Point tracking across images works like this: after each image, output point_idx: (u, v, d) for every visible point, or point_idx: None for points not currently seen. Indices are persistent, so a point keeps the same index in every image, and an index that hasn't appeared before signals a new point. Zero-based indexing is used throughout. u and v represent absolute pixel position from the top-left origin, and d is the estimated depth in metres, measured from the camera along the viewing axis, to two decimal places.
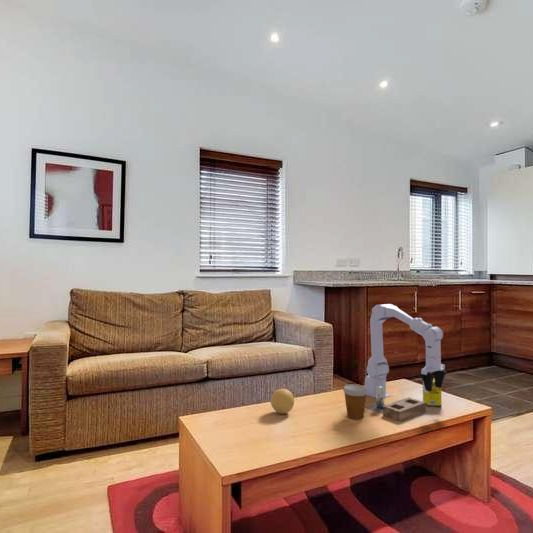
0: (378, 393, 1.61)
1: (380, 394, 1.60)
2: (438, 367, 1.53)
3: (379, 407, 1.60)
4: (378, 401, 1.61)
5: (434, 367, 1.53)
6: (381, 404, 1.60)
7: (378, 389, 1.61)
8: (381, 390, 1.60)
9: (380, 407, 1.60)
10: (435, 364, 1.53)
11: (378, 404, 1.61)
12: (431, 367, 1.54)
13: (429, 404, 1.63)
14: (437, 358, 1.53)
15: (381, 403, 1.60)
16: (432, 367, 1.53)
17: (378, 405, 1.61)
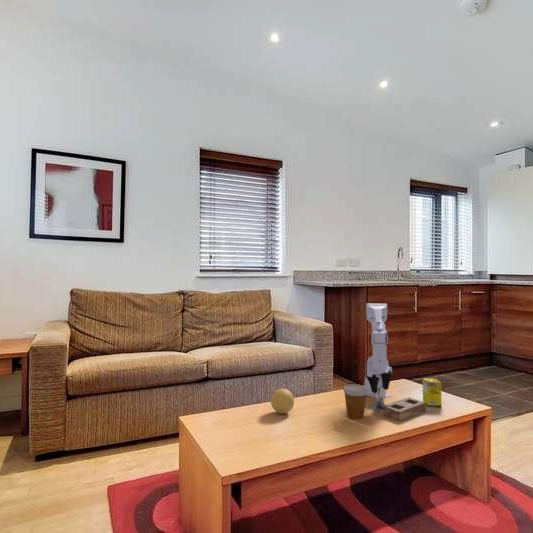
0: (378, 393, 1.61)
1: (380, 394, 1.60)
2: (383, 369, 1.59)
3: (379, 407, 1.60)
4: (378, 401, 1.61)
5: (379, 369, 1.59)
6: (381, 404, 1.60)
7: (378, 389, 1.61)
8: (381, 390, 1.60)
9: (380, 407, 1.60)
10: (380, 366, 1.59)
11: (378, 404, 1.61)
12: (377, 369, 1.60)
13: (429, 404, 1.63)
14: (382, 361, 1.59)
15: (381, 403, 1.60)
16: (378, 369, 1.59)
17: (378, 405, 1.61)
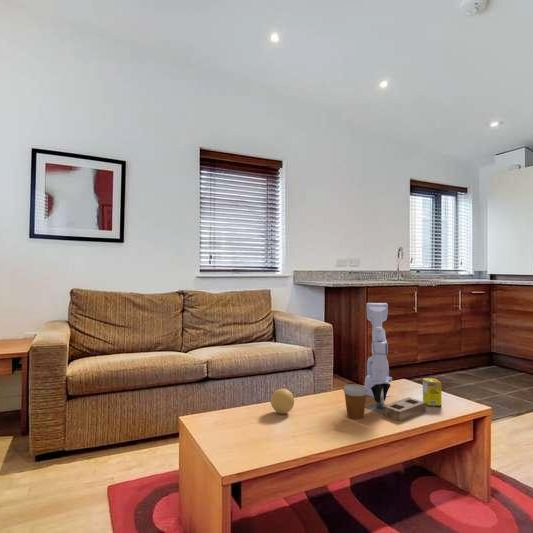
0: None
1: None
2: (383, 380, 1.59)
3: (379, 407, 1.60)
4: None
5: (380, 380, 1.59)
6: (381, 404, 1.60)
7: None
8: None
9: (380, 407, 1.60)
10: (380, 377, 1.59)
11: (378, 404, 1.61)
12: (377, 380, 1.60)
13: (429, 404, 1.63)
14: (382, 371, 1.59)
15: (381, 403, 1.60)
16: (378, 380, 1.59)
17: (378, 405, 1.61)
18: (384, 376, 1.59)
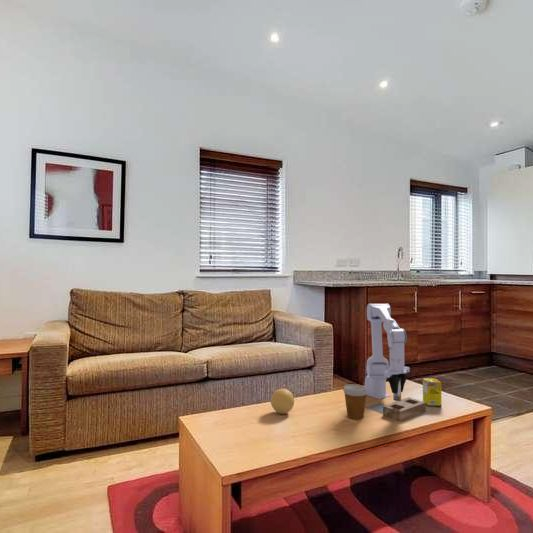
0: None
1: None
2: (401, 370, 1.50)
3: (396, 399, 1.51)
4: None
5: (397, 370, 1.50)
6: (398, 396, 1.51)
7: None
8: None
9: (397, 399, 1.51)
10: (398, 367, 1.50)
11: (395, 396, 1.52)
12: (394, 370, 1.50)
13: (429, 404, 1.63)
14: (400, 361, 1.50)
15: (398, 395, 1.51)
16: (395, 370, 1.50)
17: (395, 397, 1.52)
18: (402, 366, 1.50)
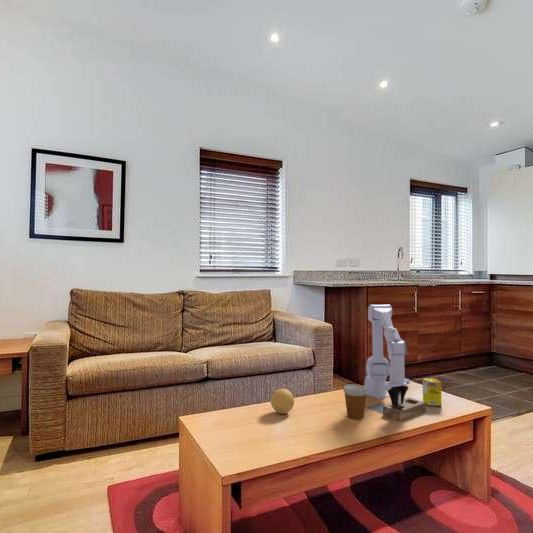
0: None
1: None
2: (401, 382, 1.50)
3: None
4: None
5: (397, 382, 1.50)
6: (398, 408, 1.51)
7: None
8: None
9: None
10: (398, 379, 1.50)
11: None
12: (394, 382, 1.50)
13: (429, 404, 1.63)
14: (400, 373, 1.50)
15: (398, 407, 1.51)
16: (395, 382, 1.50)
17: None
18: (402, 378, 1.50)
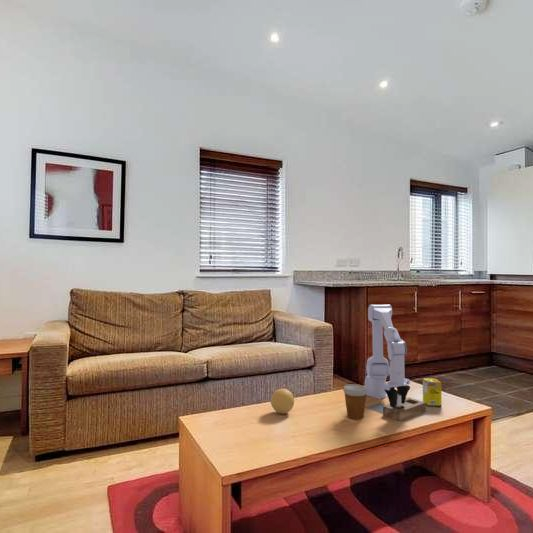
0: None
1: (398, 402, 1.51)
2: (401, 382, 1.50)
3: None
4: None
5: (397, 382, 1.50)
6: None
7: None
8: (399, 398, 1.51)
9: None
10: (398, 379, 1.50)
11: None
12: (394, 382, 1.50)
13: (429, 404, 1.63)
14: (400, 373, 1.50)
15: None
16: (395, 382, 1.50)
17: None
18: (402, 378, 1.50)
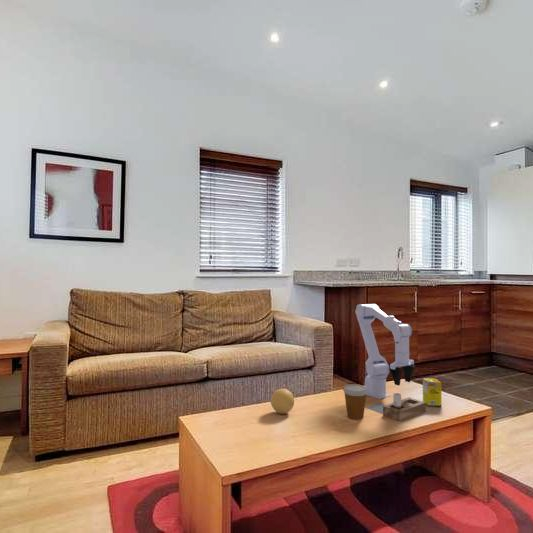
0: (395, 401, 1.51)
1: (397, 402, 1.51)
2: (406, 362, 1.61)
3: None
4: None
5: (402, 362, 1.60)
6: None
7: (396, 397, 1.51)
8: (398, 398, 1.51)
9: None
10: (403, 359, 1.60)
11: None
12: (400, 362, 1.61)
13: (429, 404, 1.63)
14: (405, 353, 1.60)
15: None
16: (400, 362, 1.61)
17: None
18: (407, 358, 1.61)
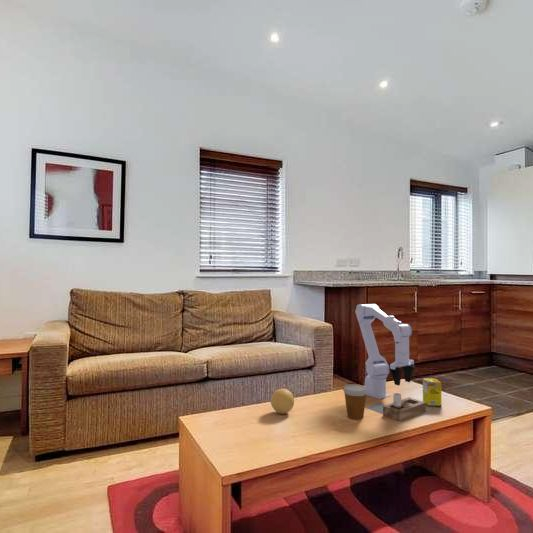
0: (395, 401, 1.51)
1: (397, 402, 1.51)
2: (406, 362, 1.61)
3: None
4: None
5: (402, 362, 1.60)
6: None
7: (396, 397, 1.51)
8: (399, 398, 1.51)
9: None
10: (403, 359, 1.60)
11: None
12: (400, 362, 1.61)
13: (429, 404, 1.63)
14: (405, 353, 1.60)
15: None
16: (400, 362, 1.61)
17: None
18: (407, 358, 1.61)
